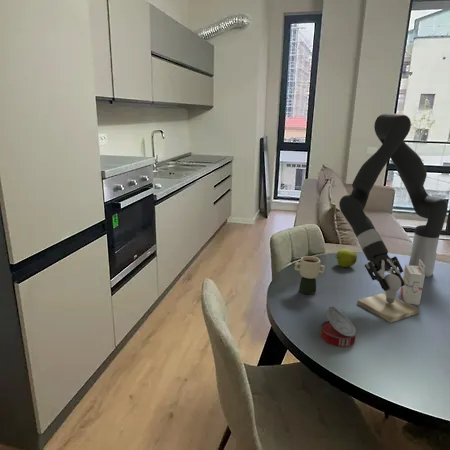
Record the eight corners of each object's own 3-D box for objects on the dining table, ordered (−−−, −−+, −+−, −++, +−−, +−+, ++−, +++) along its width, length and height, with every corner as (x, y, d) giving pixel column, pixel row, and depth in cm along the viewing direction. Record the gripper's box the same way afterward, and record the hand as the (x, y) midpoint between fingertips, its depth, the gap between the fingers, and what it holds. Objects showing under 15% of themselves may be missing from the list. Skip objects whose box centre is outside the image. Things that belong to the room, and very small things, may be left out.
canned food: (335, 341, 119) (349, 313, 119) (355, 357, 109) (371, 326, 109) (307, 330, 115) (322, 301, 115) (326, 345, 105) (342, 313, 105)
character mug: (322, 289, 144) (325, 257, 140) (322, 297, 137) (326, 264, 134) (293, 285, 146) (296, 254, 143) (292, 293, 140) (294, 260, 136)
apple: (331, 263, 171) (333, 246, 169) (350, 263, 172) (352, 246, 170) (338, 270, 163) (340, 252, 161) (358, 269, 164) (360, 252, 162)
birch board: (384, 296, 140) (385, 292, 140) (418, 313, 128) (419, 309, 128) (357, 303, 134) (357, 299, 133) (390, 322, 122) (391, 318, 122)
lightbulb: (399, 299, 133) (402, 272, 129) (399, 309, 128) (401, 280, 124) (381, 297, 135) (382, 269, 131) (379, 306, 130) (381, 278, 126)
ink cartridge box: (399, 293, 143) (405, 256, 139) (413, 294, 142) (420, 258, 138) (405, 303, 135) (412, 265, 131) (420, 305, 134) (427, 266, 130)
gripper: (364, 242, 128) (388, 287, 121) (393, 237, 134) (417, 280, 128) (350, 252, 134) (372, 296, 127) (378, 246, 140) (401, 288, 134)
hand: (394, 288), depth 128 cm, fingers open, 7 cm apart
